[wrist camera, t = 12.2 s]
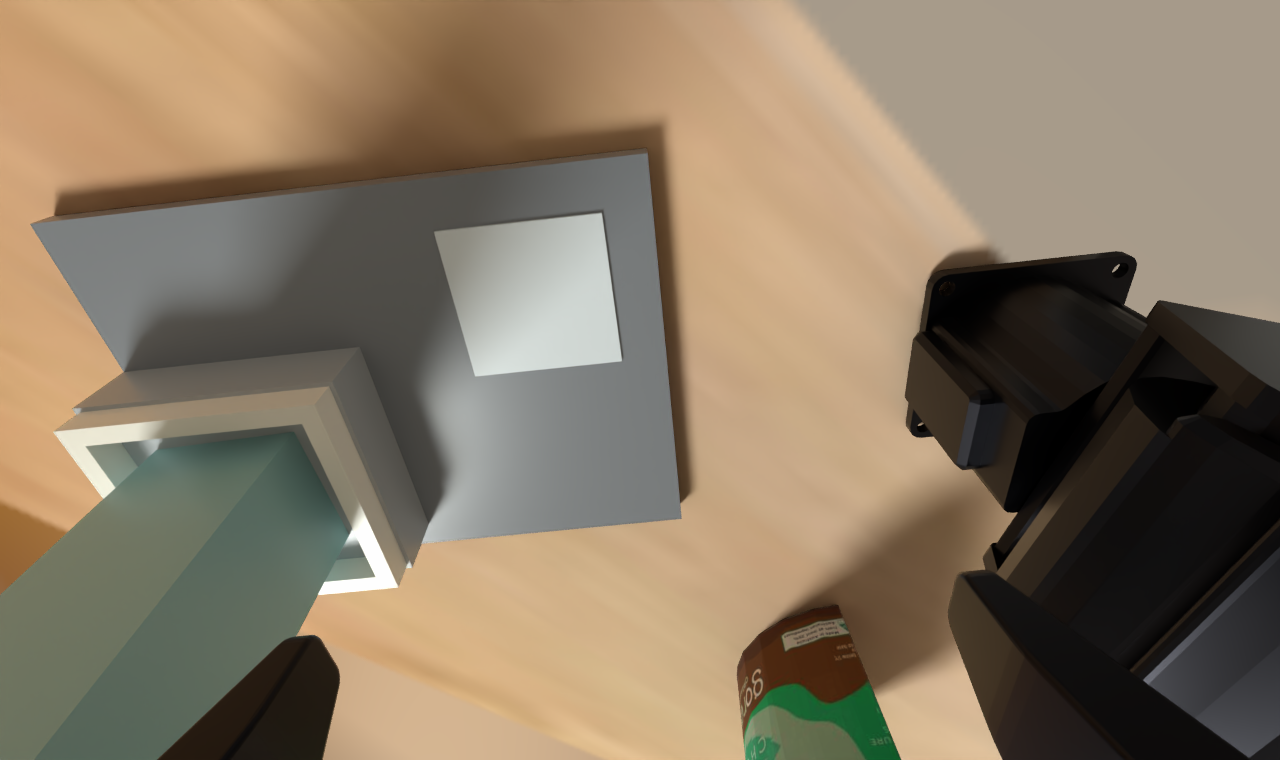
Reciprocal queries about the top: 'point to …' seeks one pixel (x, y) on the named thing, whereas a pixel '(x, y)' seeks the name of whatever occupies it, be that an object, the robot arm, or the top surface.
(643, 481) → the grey board with socket
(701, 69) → the top surface
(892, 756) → the food container
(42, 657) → the pillar
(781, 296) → the top surface
